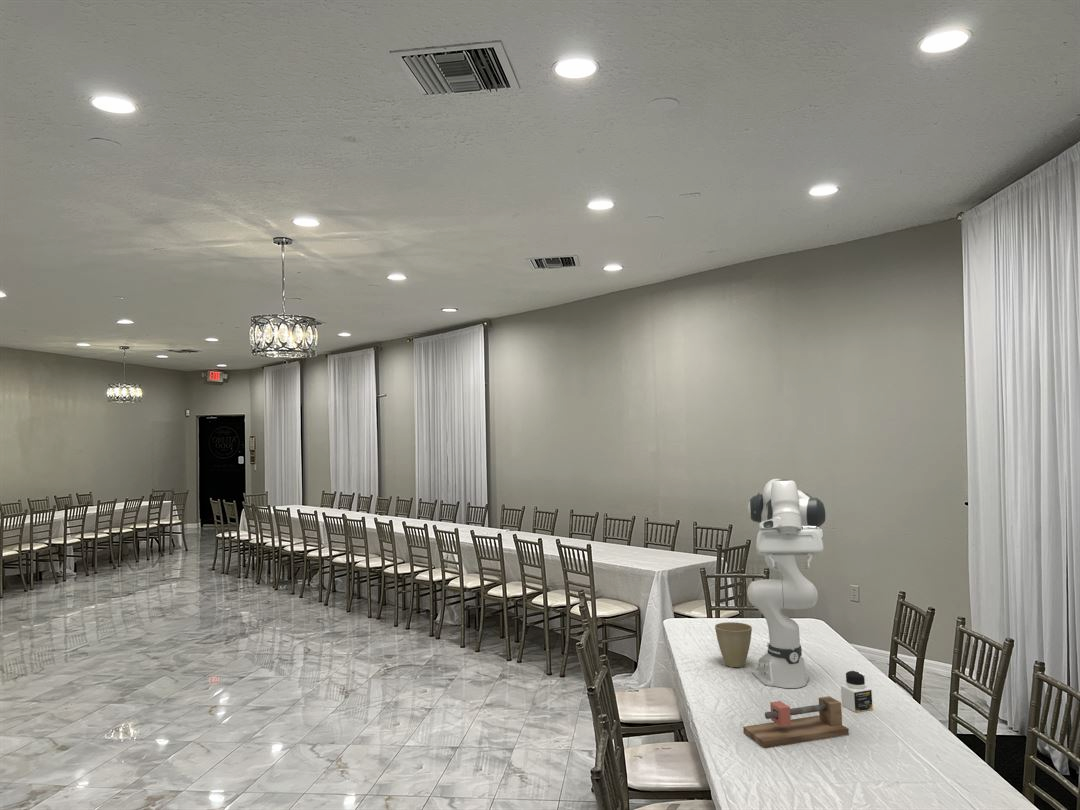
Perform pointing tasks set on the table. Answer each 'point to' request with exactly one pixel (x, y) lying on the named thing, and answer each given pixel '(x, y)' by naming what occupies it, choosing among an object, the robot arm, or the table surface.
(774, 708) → the square nut
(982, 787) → the table surface
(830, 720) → the rod stand
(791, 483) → the robot arm
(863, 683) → the medicine bottle
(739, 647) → the plant pot
